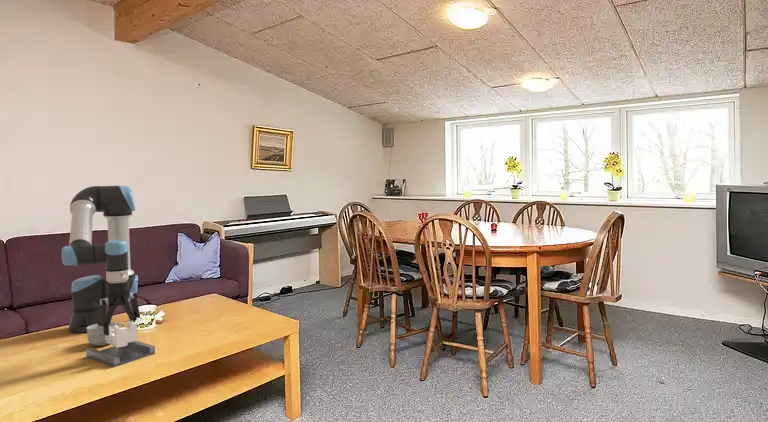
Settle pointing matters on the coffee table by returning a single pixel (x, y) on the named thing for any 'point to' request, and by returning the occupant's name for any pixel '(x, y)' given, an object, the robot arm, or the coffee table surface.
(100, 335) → the teacup
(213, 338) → the coffee table surface
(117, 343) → the bracket
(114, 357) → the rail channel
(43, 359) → the coffee table surface
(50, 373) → the coffee table surface
